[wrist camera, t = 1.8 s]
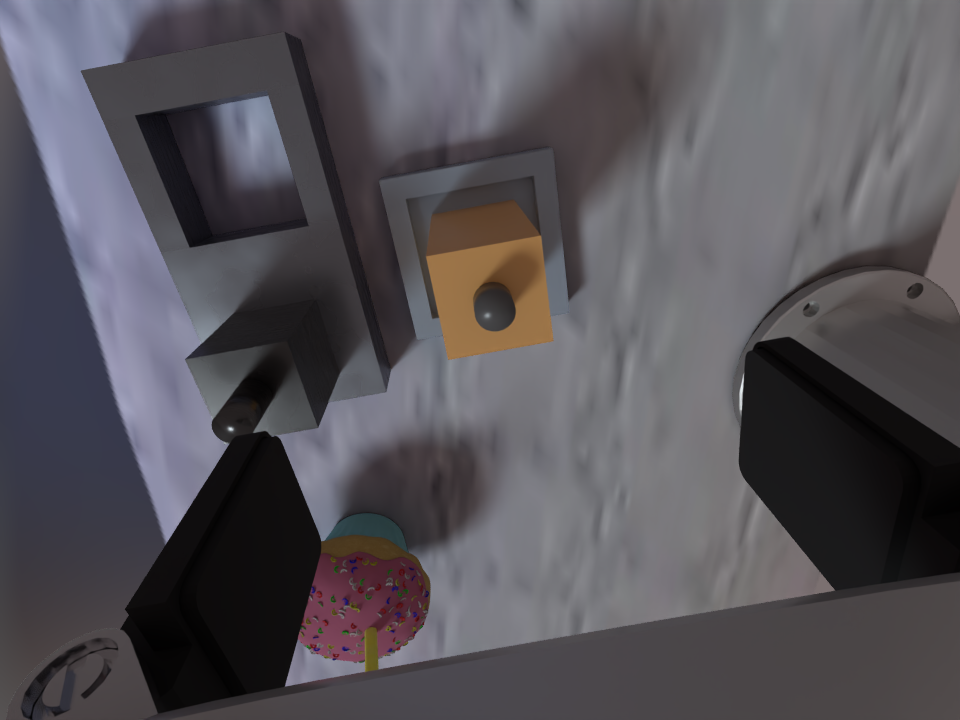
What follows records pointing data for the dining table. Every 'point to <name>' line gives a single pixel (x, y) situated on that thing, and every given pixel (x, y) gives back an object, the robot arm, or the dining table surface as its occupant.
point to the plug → (488, 279)
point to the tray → (467, 187)
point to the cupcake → (365, 593)
